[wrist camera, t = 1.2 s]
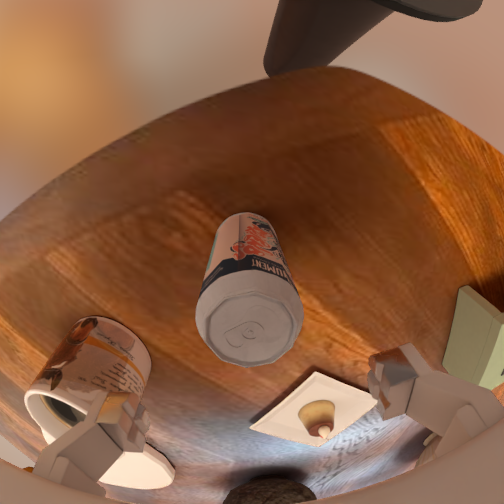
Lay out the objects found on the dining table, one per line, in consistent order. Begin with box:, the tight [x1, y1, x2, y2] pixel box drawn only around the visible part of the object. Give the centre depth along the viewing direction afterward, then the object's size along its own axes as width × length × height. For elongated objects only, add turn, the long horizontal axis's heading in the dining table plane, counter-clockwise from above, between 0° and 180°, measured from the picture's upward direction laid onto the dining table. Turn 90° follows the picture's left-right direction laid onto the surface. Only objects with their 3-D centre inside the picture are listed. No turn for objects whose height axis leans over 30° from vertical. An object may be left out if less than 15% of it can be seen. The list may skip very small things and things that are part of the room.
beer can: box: [196, 212, 304, 368], centre depth 17 cm, size 5×5×12 cm
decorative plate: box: [41, 428, 175, 489], centre depth 33 cm, size 25×4×25 cm
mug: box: [24, 316, 151, 460], centre depth 21 cm, size 10×12×11 cm
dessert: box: [249, 372, 378, 447], centre depth 28 cm, size 12×12×5 cm
